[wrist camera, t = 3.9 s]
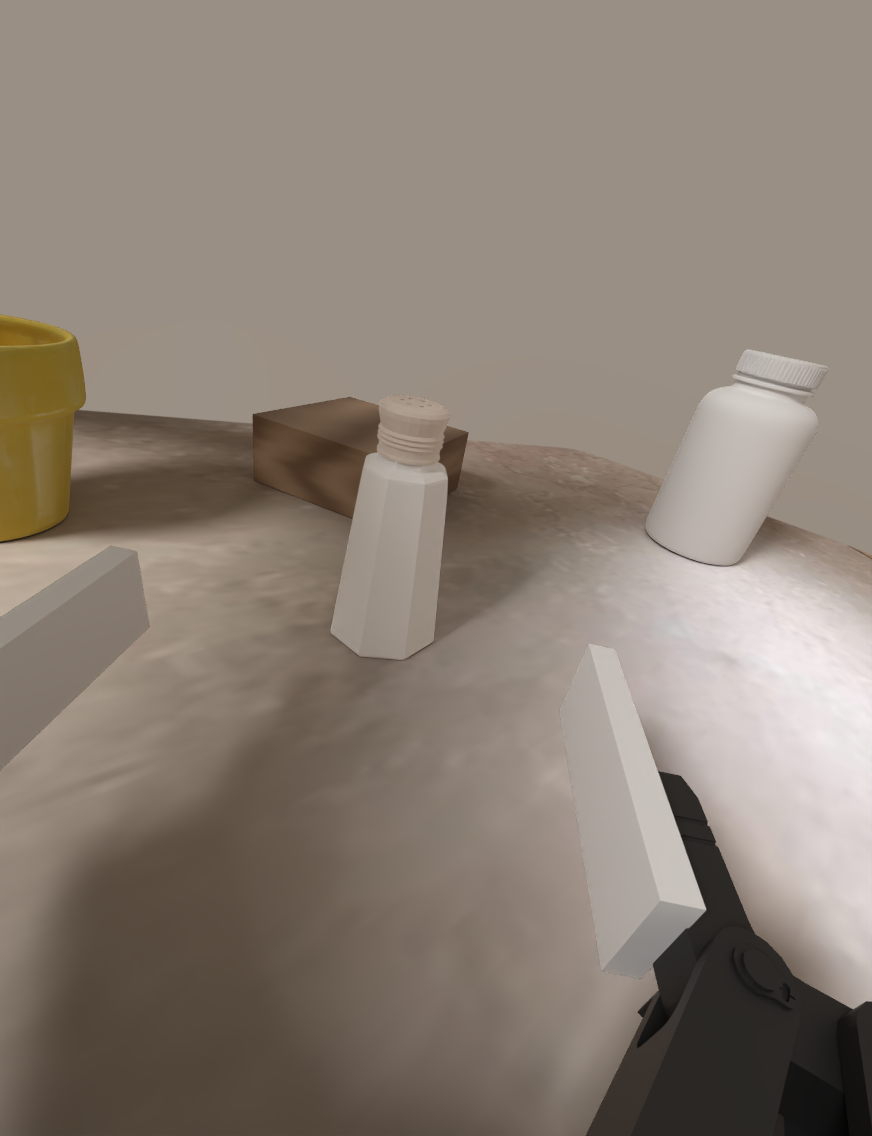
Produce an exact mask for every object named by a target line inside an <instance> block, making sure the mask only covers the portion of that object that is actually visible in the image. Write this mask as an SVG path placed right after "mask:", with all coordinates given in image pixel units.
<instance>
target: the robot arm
mask: <svg viewBox="0 0 872 1136" xmlns="http://www.w3.org/2000/svg"><path fill="white" fill-rule="evenodd" d="M149 627H150V625H149V619H148V613H147V607H146V602H145V596H144V590H143V584H142V578H141V572H140V566H139V560H138V554H137V551H134V550H129V549H124V548H119V547H114V546H110V547H108V548H106V549H105V550H103V551H102V552H100V553H99V554H97V555H96V556H94V557H93V558H91V559H89V560H88V561H86V562H85V563H83V564H82V565H80V566H79V567H77V568H76V569H74V570H73V571H71V572H69V573H68V574H66V575H65V576H63V577H62V578H60V579H59V580H57V581H56V582H54V583H52V584H51V585H49V586H48V587H46V588H45V589H43V590H42V591H40V592H39V593H37V594H36V595H34V596H32V597H31V598H29V599H28V600H26V601H25V602H23V603H22V604H20V605H19V606H17V607H15V608H14V609H12V610H11V611H9V612H8V613H6V614H5V615H3V616H2V617H0V770H1V769H2V768H3V767H4V766H6V765H7V764H8V763H9V762H10V761H11V760H12V759H13V758H14V757H15V756H16V755H17V754H18V753H19V752H20V751H21V750H22V749H23V748H24V747H25V746H26V745H27V744H28V743H29V742H31V741H32V740H33V739H34V738H35V737H36V736H37V735H38V734H39V733H40V732H41V731H42V730H43V729H44V728H45V727H46V726H47V725H48V724H49V723H50V722H51V721H52V720H53V719H54V718H56V717H57V716H58V715H59V714H60V713H61V712H62V711H63V710H64V709H65V708H66V707H67V706H68V705H69V704H70V703H71V702H72V701H73V700H74V699H75V698H76V697H77V696H78V695H79V694H81V693H82V692H83V691H84V690H85V689H86V688H87V687H88V686H89V685H90V684H91V683H92V682H93V681H94V680H95V679H96V678H97V677H98V676H99V675H100V674H101V673H102V672H103V671H104V670H106V669H107V668H108V667H109V666H110V665H111V664H112V663H113V662H114V661H115V660H116V659H117V658H118V657H119V656H120V655H121V654H122V653H123V652H124V651H125V650H126V649H127V648H128V647H129V646H131V645H132V644H133V643H134V642H135V641H136V640H137V639H138V638H139V637H140V636H141V635H142V634H143V633H144V632H145V631H146V630H147V629H148V628H149ZM559 713H560V719H561V725H562V731H563V737H564V743H565V749H566V756H567V762H568V768H569V774H570V780H571V786H572V793H573V799H574V805H575V811H576V817H577V823H578V830H579V836H580V842H581V848H582V854H583V860H584V867H585V873H586V879H587V885H588V891H589V897H590V904H591V910H592V916H593V922H594V928H595V934H596V941H597V947H598V953H599V959H600V965H601V971H603V972H608V973H613V974H617V975H622V976H627V977H632V978H637V979H641V978H642V977H643V976H644V975H645V974H646V973H647V972H648V971H649V970H650V969H651V968H652V967H654V972H655V976H656V980H657V984H658V988H659V991H658V992H657V993H656V994H655V995H654V996H653V997H652V998H651V999H649V1000H648V1001H647V1002H646V1003H645V1004H644V1005H643V1007H642V1008H641V1009H640V1010H639V1011H638V1013H639V1014H640V1015H641V1016H642V1017H643V1019H642V1021H641V1023H640V1025H639V1027H638V1029H637V1031H636V1034H635V1036H634V1038H633V1040H632V1042H631V1044H630V1046H629V1048H628V1050H627V1052H626V1054H625V1056H624V1058H623V1060H622V1062H621V1064H620V1066H619V1069H618V1071H617V1073H616V1075H615V1077H614V1079H613V1081H612V1083H611V1085H610V1087H609V1089H608V1091H607V1093H606V1095H605V1097H604V1099H603V1101H602V1104H601V1106H600V1108H599V1110H598V1112H597V1114H596V1116H595V1118H594V1120H593V1122H592V1124H591V1126H590V1128H589V1130H588V1132H587V1134H586V1136H872V1002H867V1001H866V1002H865V1003H863V1004H861V1005H860V1006H858V1007H857V1008H855V1009H851V1008H849V1007H847V1006H846V1005H844V1004H842V1003H840V1002H838V1001H836V1000H835V999H833V998H831V997H829V996H827V995H826V994H824V993H822V992H820V991H818V990H817V989H815V988H813V987H811V986H809V985H808V984H806V983H804V982H802V981H801V980H799V979H798V978H796V977H795V976H793V975H792V973H791V971H790V970H789V968H788V967H787V965H786V964H785V962H784V961H783V959H782V958H781V957H780V956H779V954H778V953H777V952H776V951H775V950H774V949H773V948H772V947H771V946H770V945H769V944H768V943H767V942H766V941H764V940H763V939H761V938H760V937H758V936H757V935H755V933H754V931H753V929H752V927H751V925H750V923H749V921H748V919H747V916H746V914H745V911H744V909H743V906H742V904H741V902H740V899H739V897H738V894H737V892H736V889H735V887H734V885H733V882H732V880H731V877H730V875H729V872H728V870H727V868H726V865H725V863H724V860H723V858H722V855H721V853H720V851H719V848H718V847H717V846H716V845H715V842H716V841H715V838H714V836H713V834H712V831H711V829H710V827H709V826H708V825H707V822H708V821H707V819H706V817H705V814H704V812H703V809H702V807H701V804H700V802H699V800H698V798H697V796H696V795H695V794H694V792H693V791H692V790H691V789H690V787H689V786H688V785H687V783H686V782H685V781H684V779H683V778H682V777H681V776H679V775H674V774H669V773H664V772H659V771H658V770H657V767H656V764H655V762H654V759H653V756H652V753H651V750H650V747H649V745H648V742H647V739H646V736H645V733H644V730H643V727H642V725H641V722H640V719H639V716H638V713H637V710H636V707H635V705H634V702H633V699H632V696H631V693H630V690H629V687H628V685H627V682H626V679H625V676H624V673H623V670H622V667H621V665H620V662H619V659H618V656H617V653H616V650H615V649H612V648H607V647H603V646H598V645H593V644H588V646H587V649H586V651H585V653H584V655H583V658H582V660H581V662H580V665H579V667H578V669H577V672H576V674H575V676H574V678H573V681H572V683H571V685H570V688H569V690H568V692H567V694H566V697H565V699H564V701H563V704H562V706H561V708H560V710H559Z"/></svg>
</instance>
